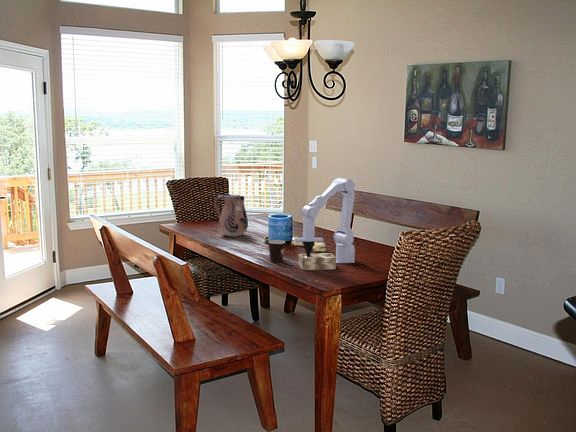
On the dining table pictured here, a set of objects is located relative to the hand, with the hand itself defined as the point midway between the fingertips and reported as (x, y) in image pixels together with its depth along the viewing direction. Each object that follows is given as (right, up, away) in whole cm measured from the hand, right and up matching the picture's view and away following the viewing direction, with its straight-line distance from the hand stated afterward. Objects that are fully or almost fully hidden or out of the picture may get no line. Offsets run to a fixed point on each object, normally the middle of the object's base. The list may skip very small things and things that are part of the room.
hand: (308, 256), depth 294 cm
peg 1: (0, -6, +1) cm, 6 cm away
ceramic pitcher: (-46, +8, +72) cm, 86 cm away
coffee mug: (-15, -3, +14) cm, 21 cm away
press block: (+5, -6, +2) cm, 8 cm away
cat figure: (+2, +1, +42) cm, 42 cm away
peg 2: (+9, -6, +3) cm, 11 cm away
